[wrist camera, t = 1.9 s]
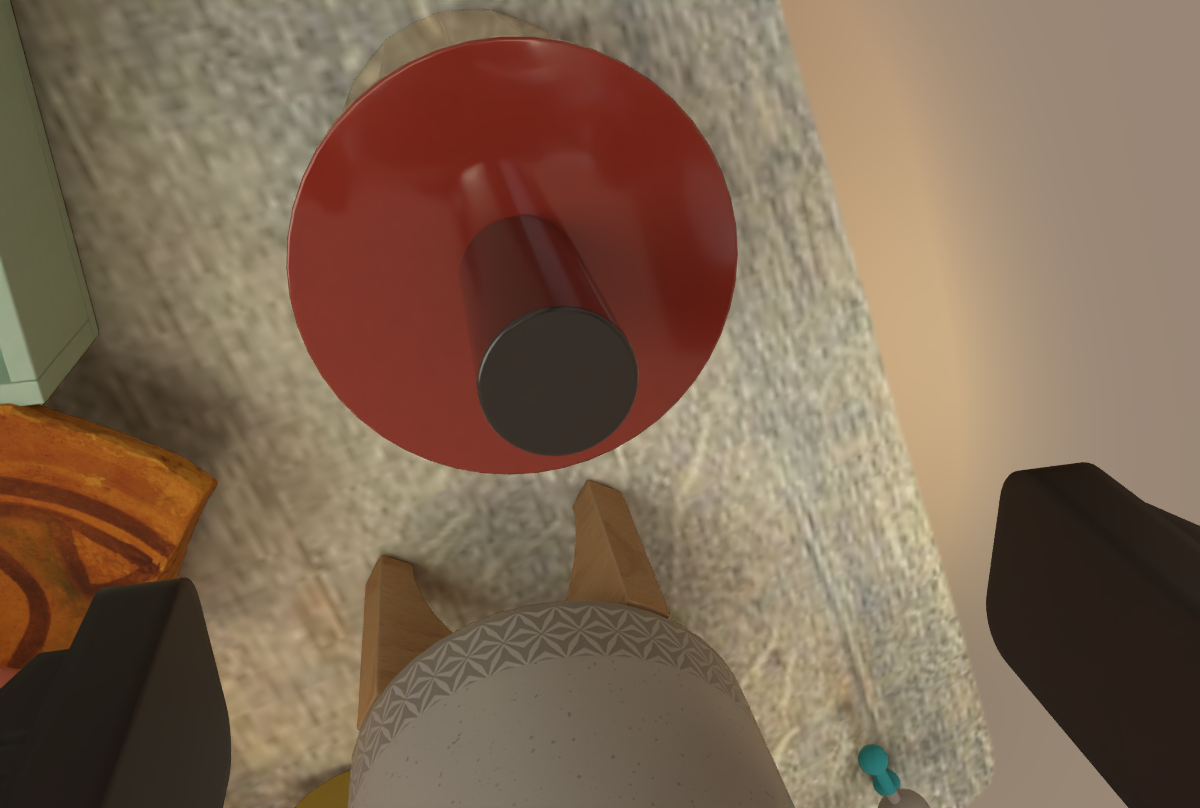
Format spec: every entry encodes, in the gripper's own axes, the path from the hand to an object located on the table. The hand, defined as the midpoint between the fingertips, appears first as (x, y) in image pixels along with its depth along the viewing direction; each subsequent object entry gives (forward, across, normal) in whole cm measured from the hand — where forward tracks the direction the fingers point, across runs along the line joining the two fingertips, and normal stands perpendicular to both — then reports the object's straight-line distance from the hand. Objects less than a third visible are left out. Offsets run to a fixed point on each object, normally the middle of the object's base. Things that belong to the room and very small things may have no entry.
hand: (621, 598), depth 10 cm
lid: (+11, 0, 0) cm, 11 cm away
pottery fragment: (+22, +14, +9) cm, 27 cm away
